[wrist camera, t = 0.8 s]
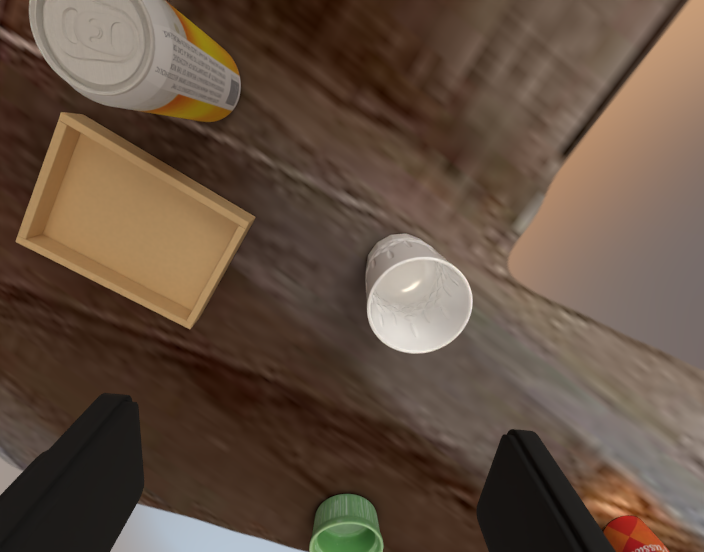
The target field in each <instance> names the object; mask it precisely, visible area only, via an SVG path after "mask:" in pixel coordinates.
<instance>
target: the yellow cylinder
mask: <svg viewBox="0 0 704 552" xmlns="http://www.w3.org/2000/svg"><path fill="white" fill-rule="evenodd" d="M29 18H30V25H31V30H32V33H33V36H34V39H35V41H36V44H37V46H38V48H39V50H40V52H41V54H42V55H43V57H44V58H45V60H46V61H47V63H48V64H49V65H50V66H51V68H52V69H53V70H54V71H55V72H56V73H57V74H58V75H59V76H60V77H62V78H63V79H64V80H65V81H67V82H68V83H69V84H70V85H71V86H72V87H73V88H74V89H75V90H77V91H78V92H79V93H81V94H82V95H84V96H85V97H87V98H89V99H91V100H93V101H95V102H97V103H100V104H103V105H107V106H112V107H118V108H124V109H130V110H136V111H142V112H148V113H154V114H160V115H166V116H172V117H178V118H184V119H190V120H196V121H202V122H214V121H218V120H221V119H223V118H225V117H226V116H227V115H229V114H230V113H231V112H232V111H233V109H234V108H235V106H236V105H237V102H238V100H239V97H240V91H241V81H240V75H239V71H238V69H237V66H236V64H235V62H234V61H233V59H232V57H231V56H230V55H229V54H228V52H227V51H226V50H225V49H223V48H222V47H221V46H220V45H219V44H217V43H216V42H215V41H214V40H213V39H211V38H210V37H209V36H208V35H207V34H205V33H204V32H203V31H202V30H201V29H199V28H198V27H197V26H196V25H195V24H193V23H192V22H191V21H190V20H189V19H187V18H186V17H185V16H184V15H182V14H181V13H180V12H179V11H178V10H176V9H175V8H174V7H173V6H172V5H170V4H169V3H168V2H167V1H166V0H30V1H29Z"/></svg>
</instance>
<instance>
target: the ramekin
mask: <svg viewBox="0 0 704 552" xmlns="http://www.w3.org/2000/svg"><path fill="white" fill-rule="evenodd" d="M309 551H310V552H383V539H382V536H381V534H380V530H379V525H378V519H377V514H376V510H375V508H374V507H373V505H372V504H371V503H370V502H369V501H368V500H367V499H365V498H363V497H361V496H358V495H354V494H340V495H336V496H333V497H330V498H329V499H327V500H325V501H324V502H323V503H322V504H321V505H320V506H319V508H318V509H317V512H316V515H315V521H314V527H313V534H312V537H311V540H310V545H309Z"/></svg>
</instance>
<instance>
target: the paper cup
mask: <svg viewBox="0 0 704 552" xmlns="http://www.w3.org/2000/svg"><path fill="white" fill-rule="evenodd" d="M604 535H605V536H606V538H607V539H608V541H609V542H610V544H611V545H612V547H613V548H614V550H615V551H616V552H670V551H669V550H668V549H667V548H666V547H665V546H664V544H663V543H662V542H661V541H660V540H659V539H658V538H657V537H656V535H655V534H654V533H653V532H652V531H651V530H650V529H649V528H648V527H647V526H646V524H645V523H644V522H643V521H642V520H641V519H639V518H638V517H635V516H623V517H619V518H617V519H615V520H613V521H611V522H610V523H609V524H608V525H607V526H606V528H605V529H604Z"/></svg>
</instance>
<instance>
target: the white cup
mask: <svg viewBox="0 0 704 552" xmlns="http://www.w3.org/2000/svg"><path fill="white" fill-rule="evenodd" d="M366 302H367V316H368V320H369V323H370V326H371V328H372V330H373V332H374V333H375V335H376V336H377V337H378V338H379V339H380V340H381V341H382V342H383V343H384V344H386V345H387V346H389V347H391V348H393V349H395V350H398V351H401V352H405V353H414V354H417V353H427V352H431V351H434V350H437V349H439V348H442V347H444V346H445V345H447V344H449V343H450V342H451V341H453V340H454V339H455V338H456V337H457V336H458V335H459V334H460V333H461V332H462V330H463V329H464V328H465V326H466V324H467V322H468V320H469V318H470V315H471V311H472V292H471V289H470V286H469V283H468V281H467V280H466V278H465V277H464V275H463V274H462V273H461V272H460V271H459V270H458V269H457V268H456V267H455V266H454V265H452V264H451V263H450V262H449V261H448V260H447V259H445V258H444V257H443V256H442V255H441V254H440V253H439V252H437V251H436V250H435V249H433V248H432V247H431V246H430V245H428V244H426V243H425V242H423V241H422V240H421V239H420V238H417V237H414V236H412V235H409V234H406V233H404V234H393V235H389V236H387V237H386V238H384V239H382V240H381V241H379V242H377V243H376V245H375V246H374V247H373V249H372V250H371V252H370V253H369V255H368V259H367V265H366Z"/></svg>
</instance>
